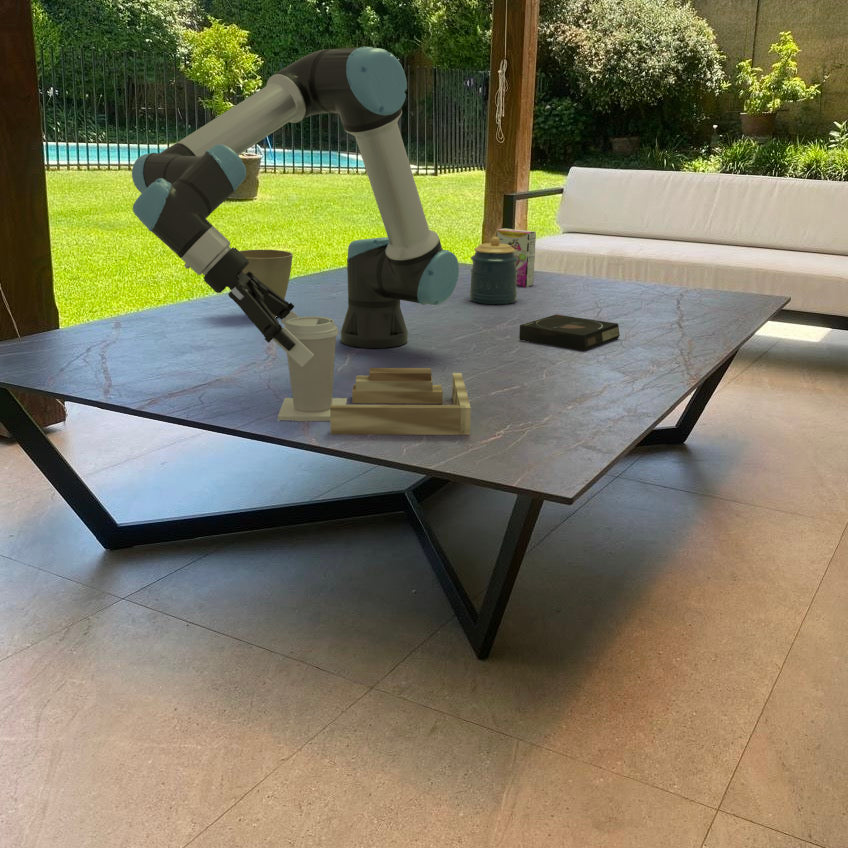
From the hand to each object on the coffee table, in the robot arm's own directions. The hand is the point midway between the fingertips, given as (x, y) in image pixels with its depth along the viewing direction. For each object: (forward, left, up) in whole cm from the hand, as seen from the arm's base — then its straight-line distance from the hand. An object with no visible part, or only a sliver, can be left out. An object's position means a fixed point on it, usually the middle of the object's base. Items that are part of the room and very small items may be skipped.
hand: (311, 351), depth 164 cm
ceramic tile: (0, 0, -11) cm, 11 cm away
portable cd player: (-58, +55, -11) cm, 80 cm away
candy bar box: (-133, +51, -11) cm, 142 cm away
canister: (-106, +42, -11) cm, 114 cm away
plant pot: (-81, -18, -11) cm, 83 cm away
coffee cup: (0, 0, -10) cm, 10 cm away
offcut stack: (-7, +15, -11) cm, 20 cm away
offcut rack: (+2, +15, -11) cm, 18 cm away
